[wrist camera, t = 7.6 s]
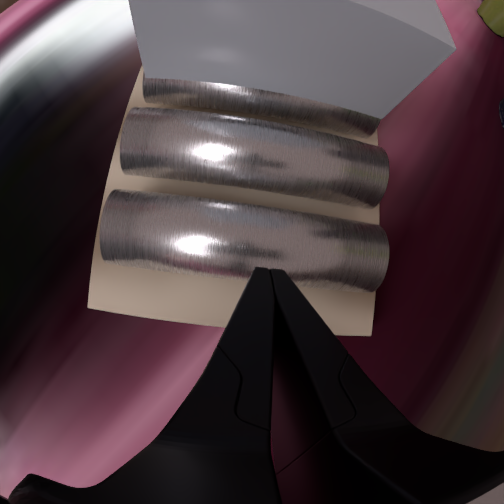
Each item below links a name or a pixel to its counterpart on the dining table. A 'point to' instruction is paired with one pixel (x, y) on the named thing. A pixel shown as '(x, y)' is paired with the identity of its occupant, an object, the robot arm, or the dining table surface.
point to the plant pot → (493, 15)
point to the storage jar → (501, 111)
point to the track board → (208, 288)
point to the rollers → (250, 177)
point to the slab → (297, 46)
